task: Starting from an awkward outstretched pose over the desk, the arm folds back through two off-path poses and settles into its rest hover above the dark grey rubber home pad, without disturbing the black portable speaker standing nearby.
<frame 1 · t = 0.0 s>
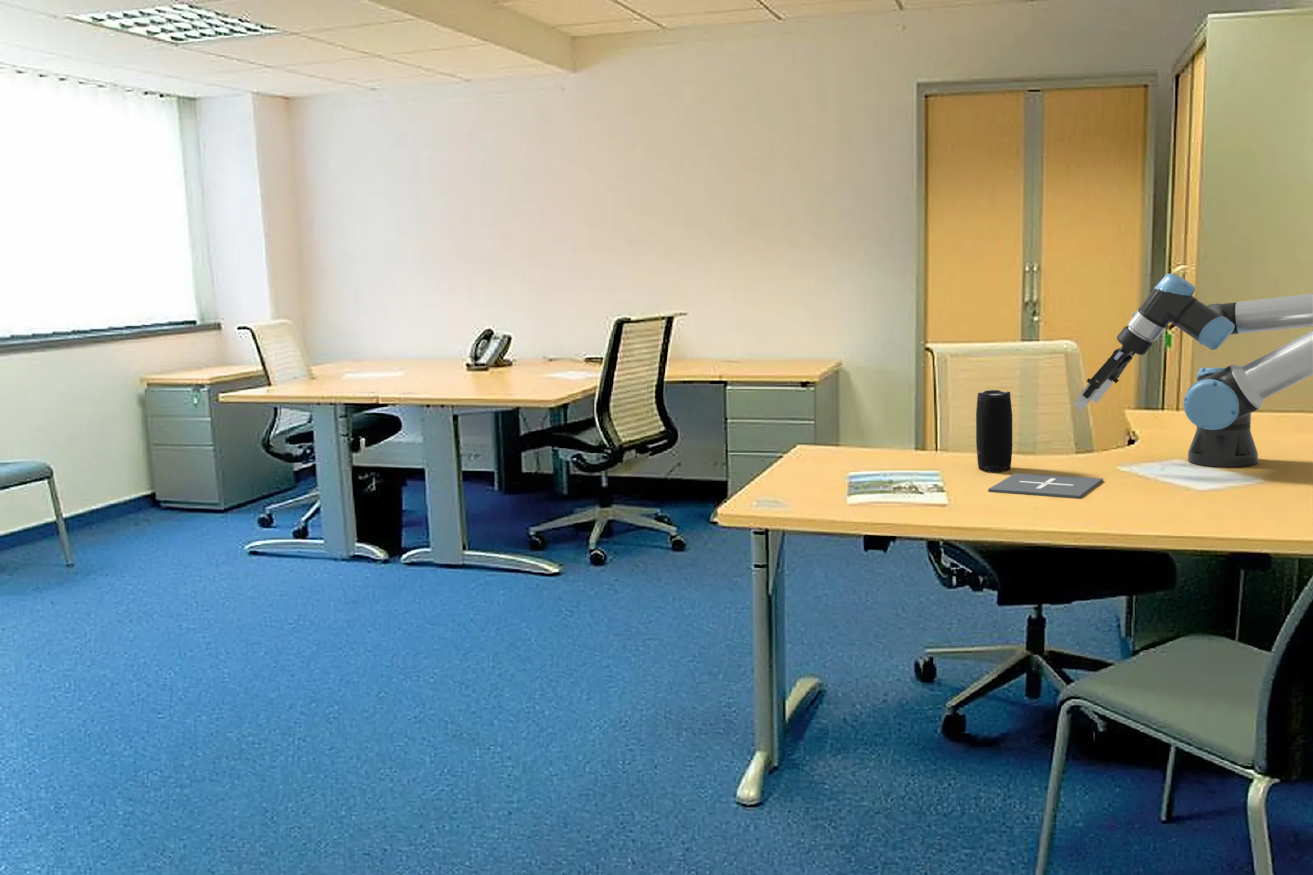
hand: (1084, 403, 269), 15 cm above the table, tool tilted 35°, fingers open, 13 cm apart
home pad: (1046, 486, 249), on the table
portable speaker: (994, 470, 271), on the table
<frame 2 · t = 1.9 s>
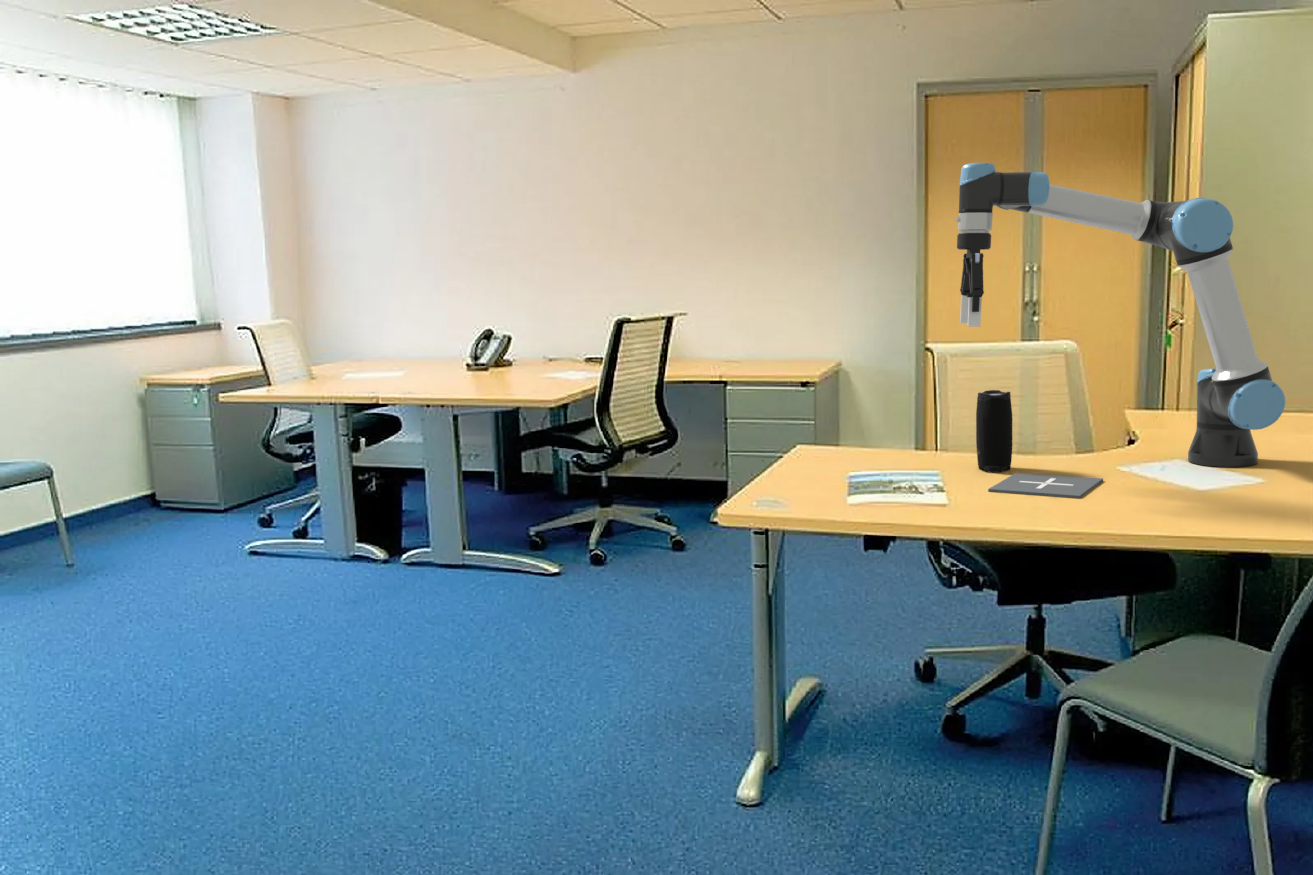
hand: (969, 324, 254), 37 cm above the table, tool pointing down, fingers open, 13 cm apart
nothing on the table moved.
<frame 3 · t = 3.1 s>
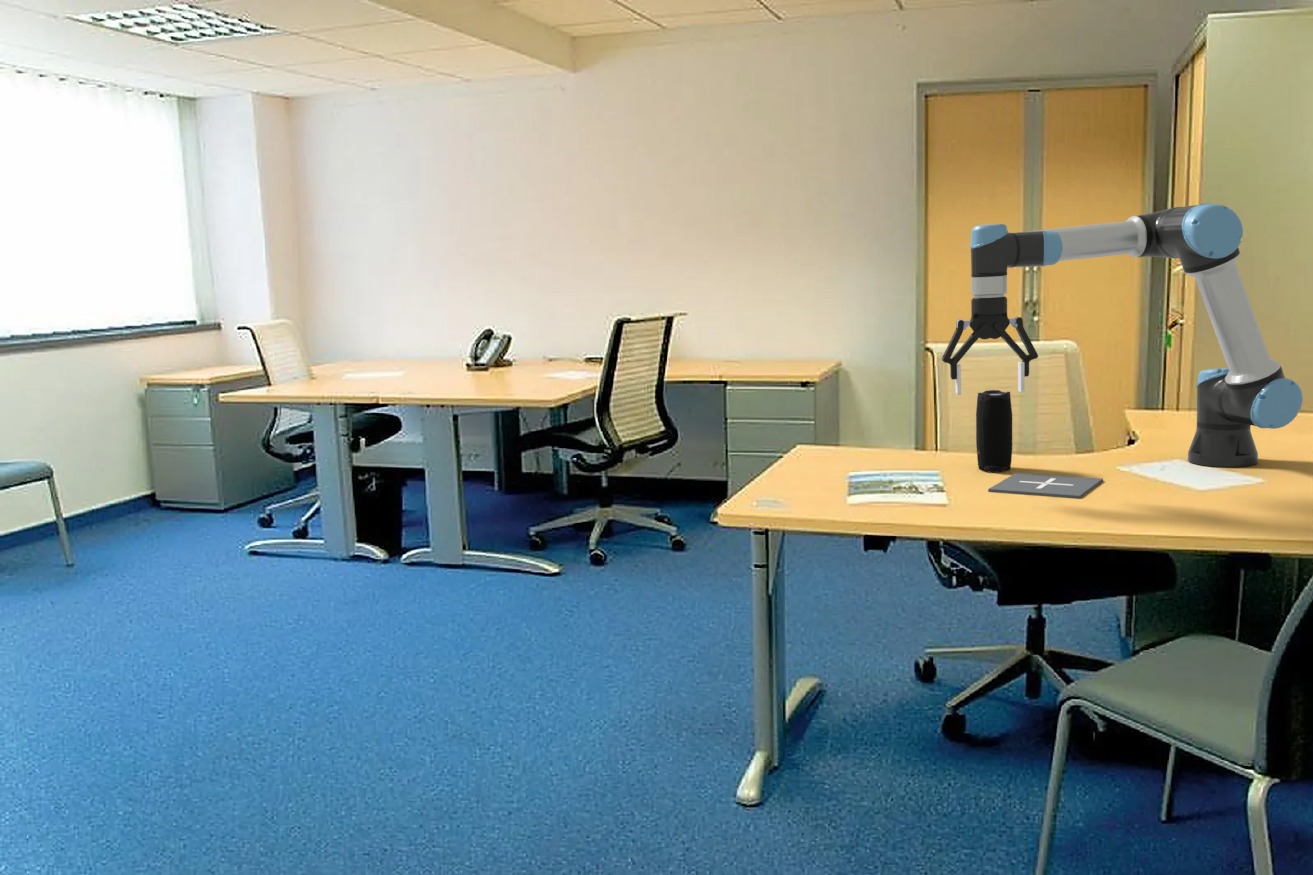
hand: (989, 392, 241), 23 cm above the table, tool pointing down, fingers open, 13 cm apart
nothing on the table moved.
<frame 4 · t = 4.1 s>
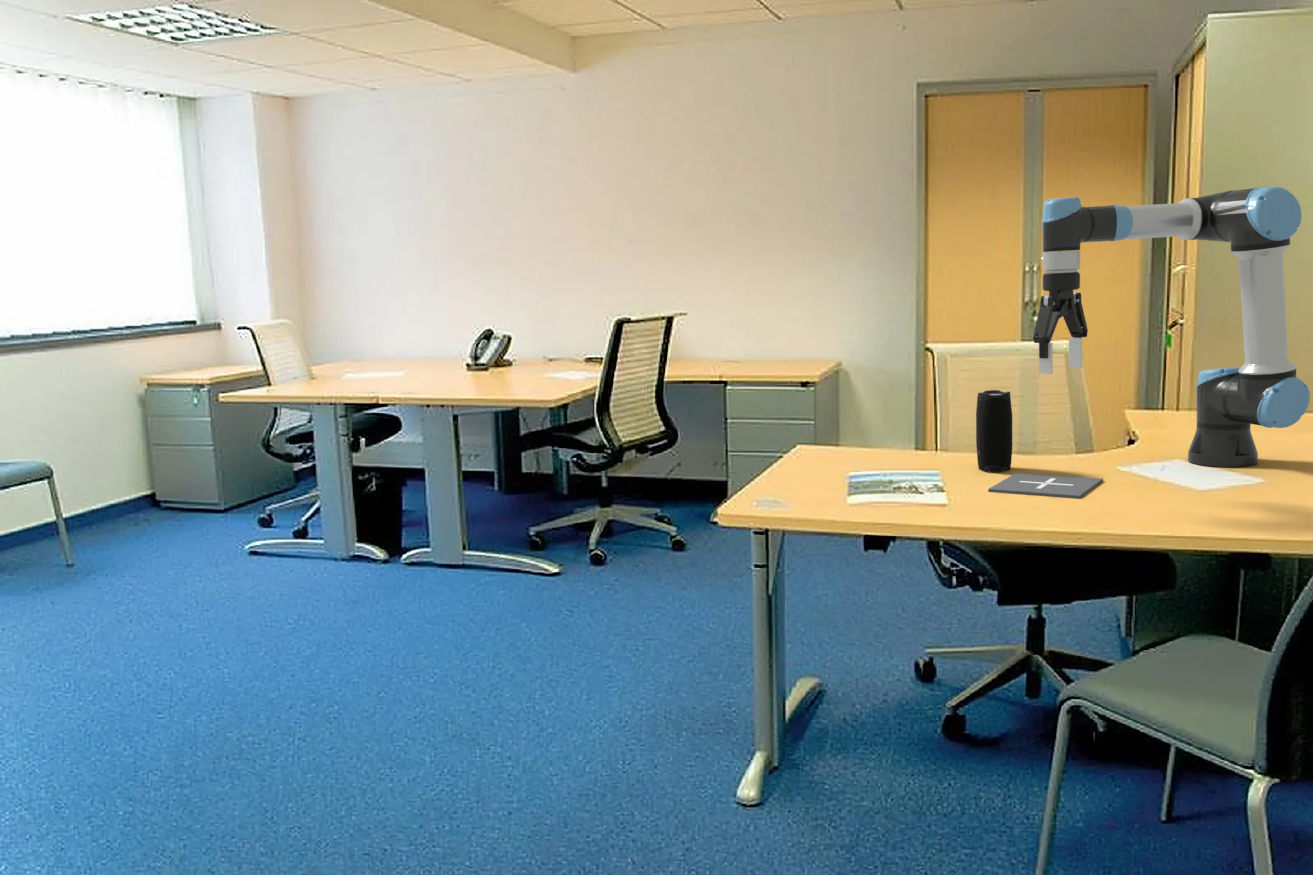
hand: (1060, 370, 236), 28 cm above the table, tool pointing down, fingers open, 13 cm apart
nothing on the table moved.
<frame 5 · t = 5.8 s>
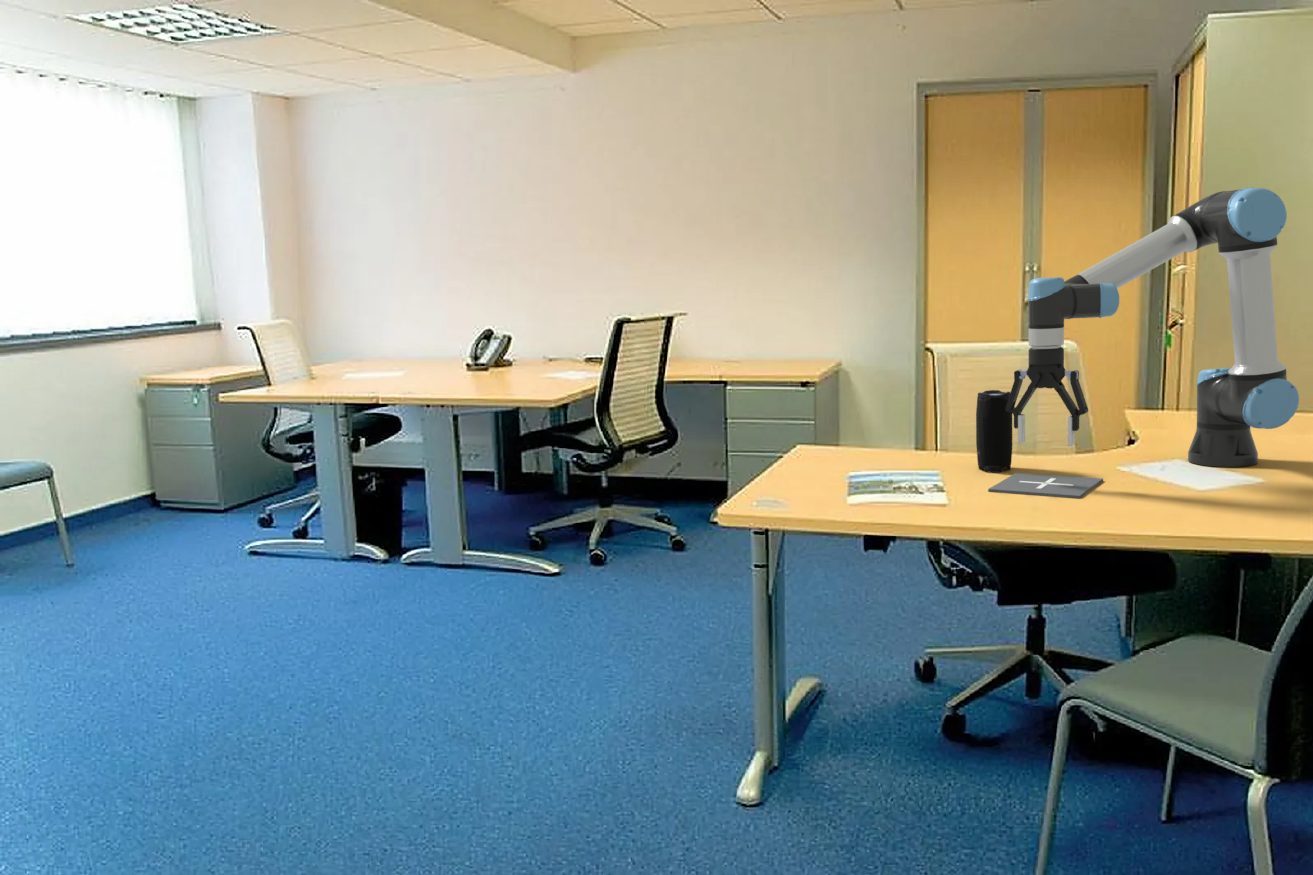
hand: (1046, 443, 248), 10 cm above the table, tool pointing down, fingers open, 10 cm apart
nothing on the table moved.
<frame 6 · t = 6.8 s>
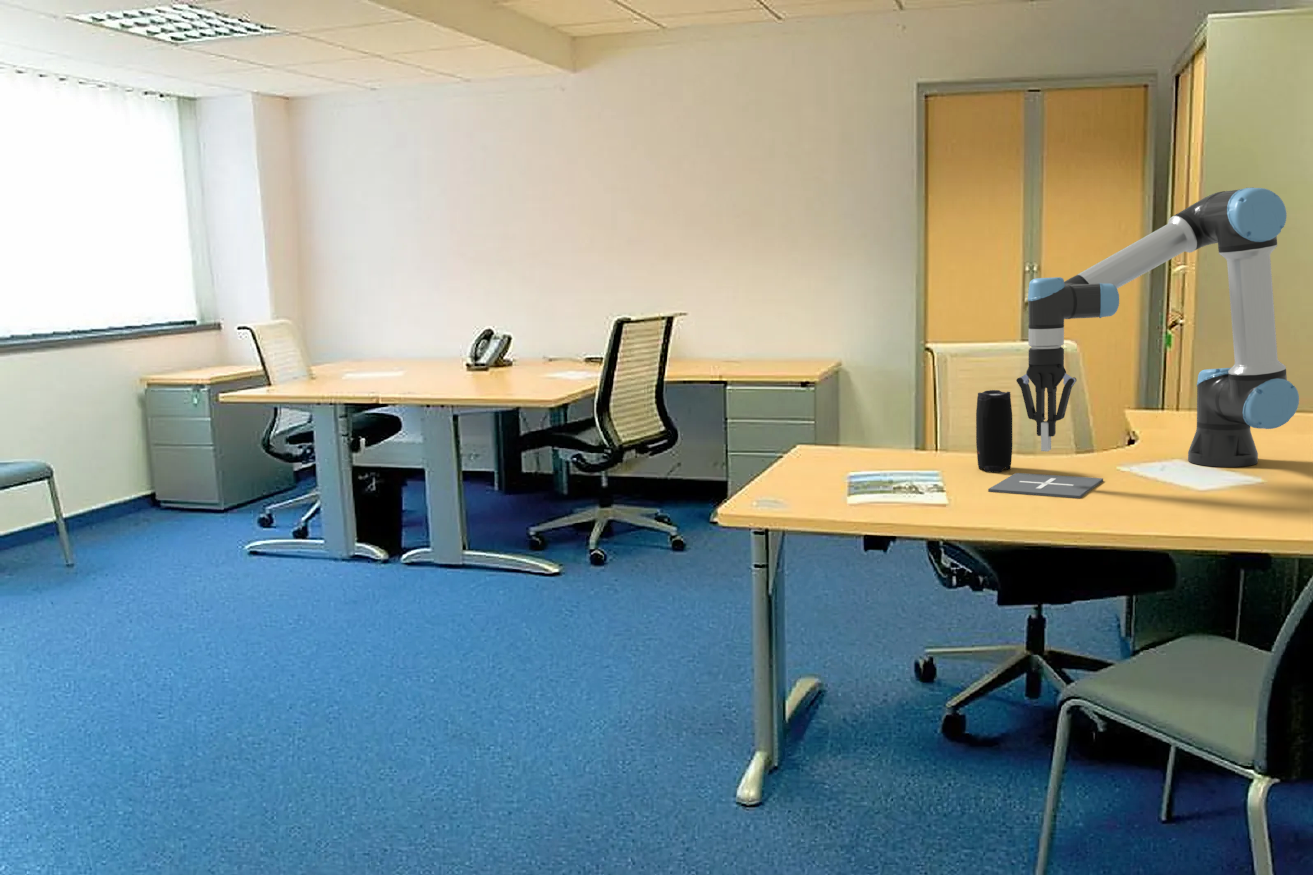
hand: (1046, 450, 248), 8 cm above the table, tool pointing down, fingers closed
nothing on the table moved.
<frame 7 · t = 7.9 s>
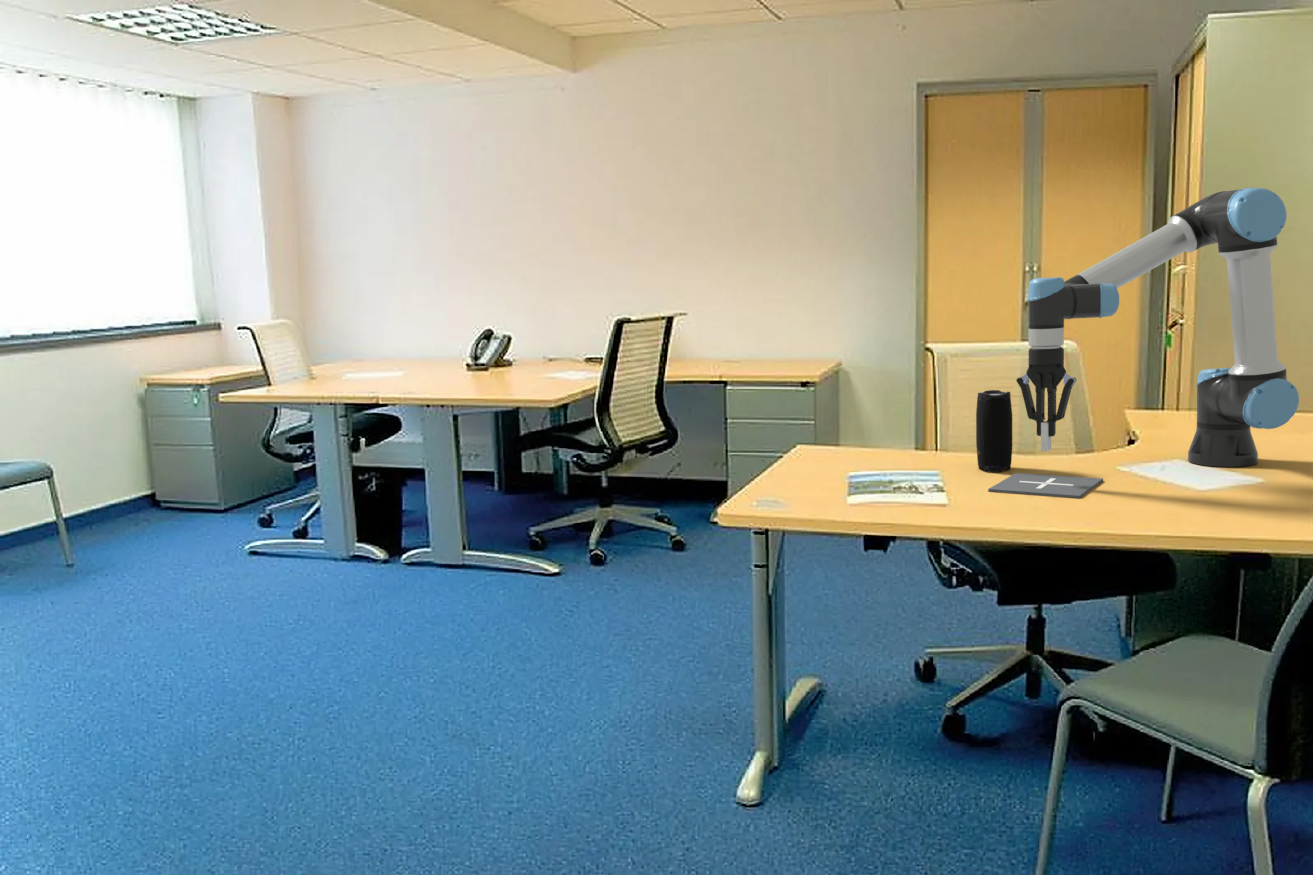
hand: (1046, 450, 248), 8 cm above the table, tool pointing down, fingers closed
nothing on the table moved.
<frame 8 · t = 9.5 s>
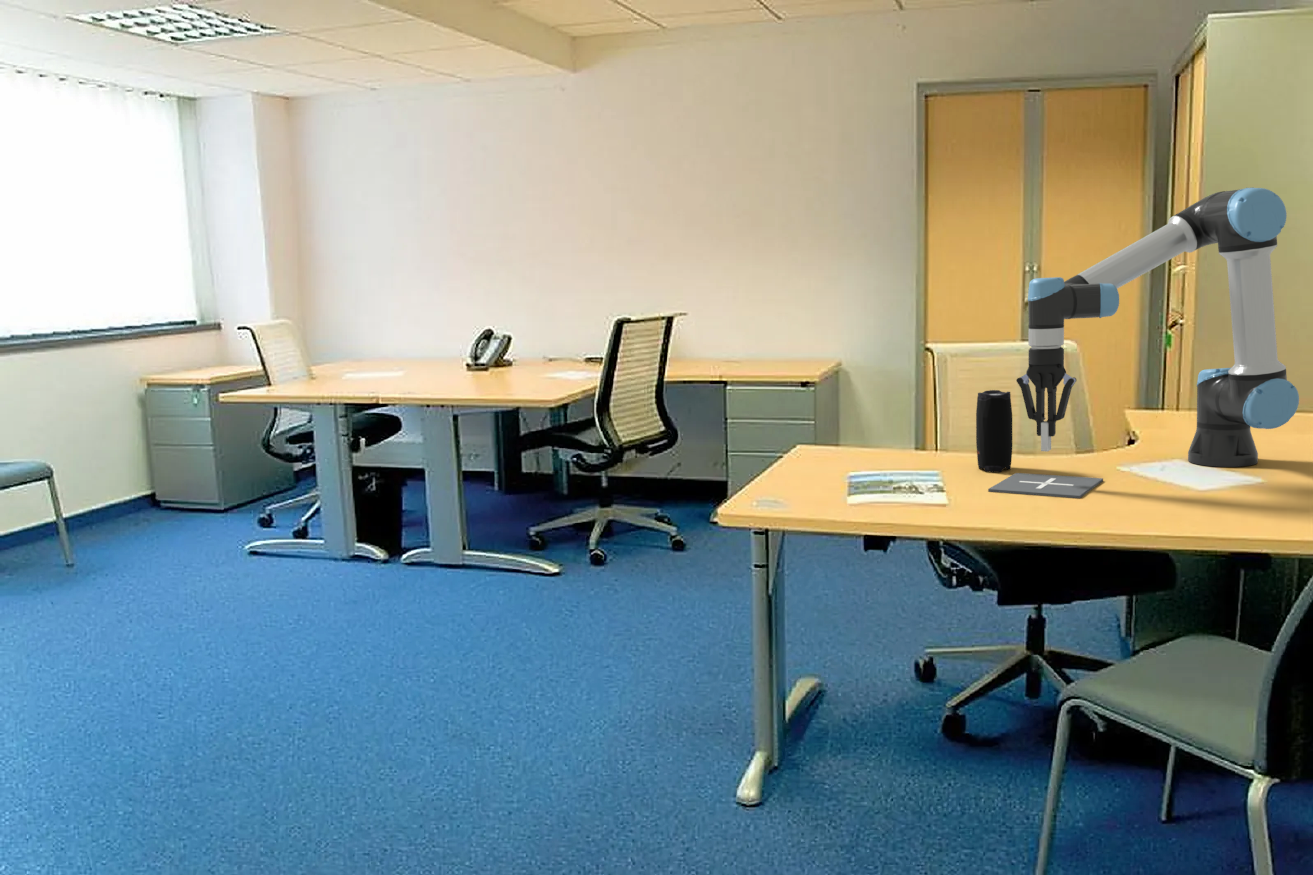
hand: (1046, 450, 248), 8 cm above the table, tool pointing down, fingers closed
nothing on the table moved.
at the end: portable speaker moved 0.2 cm from its start; portable speaker tilted 0° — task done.
